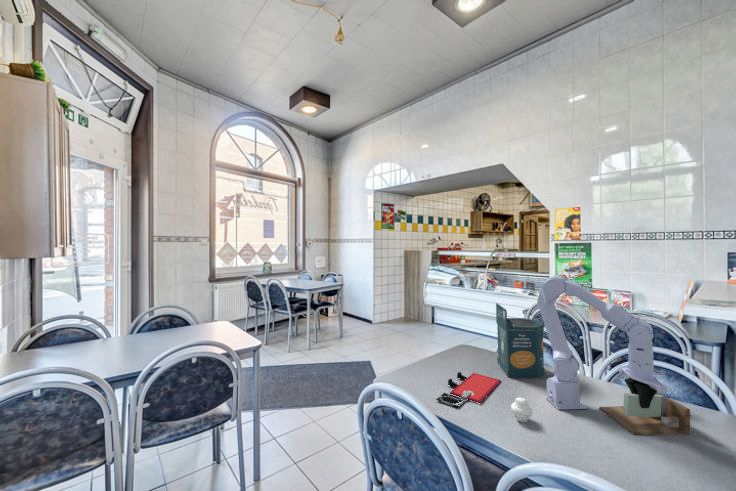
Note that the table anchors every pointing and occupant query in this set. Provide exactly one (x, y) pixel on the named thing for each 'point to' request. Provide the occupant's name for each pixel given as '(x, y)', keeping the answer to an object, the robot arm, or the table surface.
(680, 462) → the table surface
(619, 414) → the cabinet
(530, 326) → the donation box
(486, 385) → the red board with handle
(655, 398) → the green piece
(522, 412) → the muffin
